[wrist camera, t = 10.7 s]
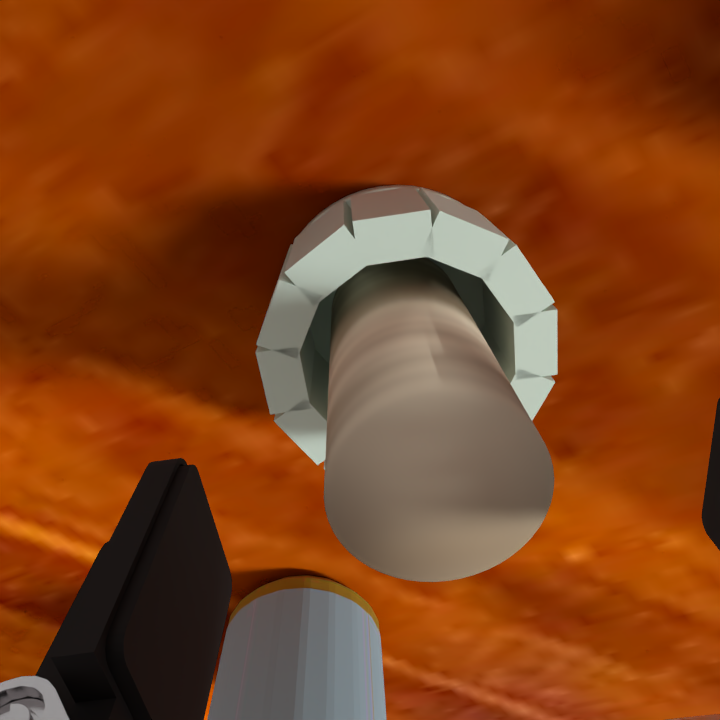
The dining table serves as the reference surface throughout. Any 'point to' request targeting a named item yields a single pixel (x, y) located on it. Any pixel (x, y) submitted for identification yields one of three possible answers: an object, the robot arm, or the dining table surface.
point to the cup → (389, 244)
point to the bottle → (301, 655)
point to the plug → (425, 432)
